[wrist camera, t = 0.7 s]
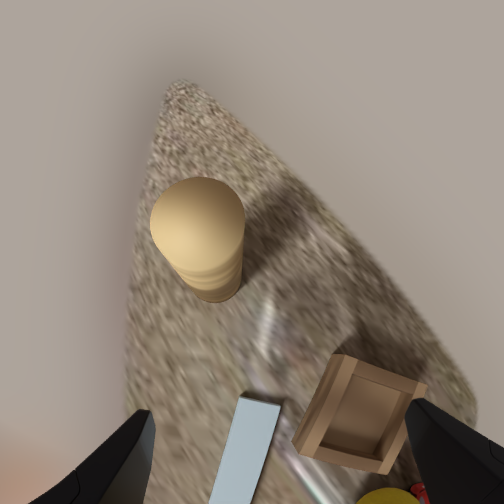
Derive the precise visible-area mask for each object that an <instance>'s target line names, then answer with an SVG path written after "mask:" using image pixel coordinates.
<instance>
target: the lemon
mask: <svg viewBox="0 0 504 504" xmlns="http://www.w3.org/2000/svg"><path fill="white" fill-rule="evenodd" d="M356 504H420V502H419V501H418V500H417V499H416V498H415V497H414V496H412V495H411V494H410V493H408V492H406V491H404V490H401V489H398V488H382V489H377V490H374V491H372V492H370V493H368V494H366V495H365V496H363V497H362V498H361V499H360V500H359V501H358V502H357V503H356Z"/></svg>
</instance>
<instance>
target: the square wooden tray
mask: <svg viewBox="0 0 504 504" xmlns="http://www.w3.org/2000/svg"><path fill="white" fill-rule="evenodd" d="M427 386H428V385H426V384H423V383H420V382H418V381H415V380H412V379H409V378H406V377H403V376H401V375H398V374H395V373H392V372H390V371H387V370H384V369H382V368H379V367H376V366H374V365H371V364H368V363H366V362H363V361H361V360H358V359H356V358H353V357H350V356H348V355H344V354H332V355H331V358H330V360H329V363H328V365H327V367H326V370H325V372H324V374H323V376H322V379H321V381H320V383H319V385H318V388H317V390H316V392H315V394H314V396H313V398H312V401H311V403H310V405H309V407H308V409H307V411H306V413H305V415H304V417H303V419H302V421H301V423H300V425H299V427H298V429H297V431H296V433H295V435H294V437H293V439H292V441H291V442H292V443H293V445H294V447H295V449H296V450H297V452H298V454H300V455H304V456H307V457H310V458H314V459H317V460H321V461H325V462H329V463H332V464H336V465H341V466H345V467H349V468H354V469H358V470H363V471H368V472H373V473H379V474H384V475H387V474H388V473H389V471H390V469H391V467H392V465H393V463H394V461H395V459H396V458H397V456H398V454H399V452H400V450H401V448H402V445H403V443H404V441H405V439H406V437H407V435H408V432H407V428H406V424H405V420H404V415H405V412H406V410H407V408H408V406H409V404H410V402H411V401H412V400H413V399H416V398H423V397H424V394H425V392H426V389H427Z"/></svg>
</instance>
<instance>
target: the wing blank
mask: <svg viewBox="0 0 504 504" xmlns="http://www.w3.org/2000/svg"><path fill="white" fill-rule="evenodd" d="M280 407H281V406H280V405H279V404H274V403H269V402H265V401H260V400H256V399H251V398H247V397H243V396H239V399H238V403H237V406H236V410H235V413H234V417H233V420H232V424H231V428H230V431H229V435H228V438H227V442H226V445H225V449H224V452H223V455H222V459H221V462H220V466H219V469H218V473H217V476H216V479H215V483H214V486H213V489H212V493H211V496H210V499H209V503H208V504H250V502H251V499H252V496H253V494H254V491H255V488H256V485H257V482H258V479H259V476H260V473H261V470H262V467H263V464H264V461H265V457H266V454H267V451H268V448H269V445H270V441H271V438H272V435H273V431H274V428H275V425H276V421H277V418H278V414H279V411H280Z"/></svg>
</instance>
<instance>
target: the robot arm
mask: <svg viewBox="0 0 504 504" xmlns="http://www.w3.org/2000/svg"><path fill="white" fill-rule="evenodd" d="M404 420H405V424H406V428H407V432H408V436H409V440H410V444H411V448H412V452H413V455H414V458H415V461H416V464H417V467H418V469H419V472H420V475H421V478H422V481H423V484H424V487H425V490H426V493H427V496H428V500H429V503H430V504H504V448H503V447H501V446H500V445H498V444H496V443H495V442H493V441H491V440H488V438H486V437H485V436H483V435H481V434H480V433H478V432H477V431H475V430H473V429H472V428H470V427H468V426H467V425H465V424H464V423H462V422H460V421H459V420H457V419H456V418H454V417H452V416H451V415H449V414H448V413H446V412H445V411H443V410H441V409H440V408H438V407H437V406H435V405H434V404H432V403H430V402H429V401H427V400H426V399H424V398H416V399H413V400H412V401H411V402H410V404H409V406H408V408H407V410H406V412H405V415H404ZM155 431H156V428H155V423H154V419H153V416H152V413H151V411H150V410H144V409H139V410H137V411H136V412H135V413H134V414H133V415H132V416H131V417H130V418H129V419H128V420H127V421H126V422H125V423H123V424H122V425H121V426H120V427H119V428H118V429H117V430H116V431H115V432H114V433H113V434H112V435H111V436H110V437H109V438H108V439H107V440H106V441H105V442H104V443H103V444H101V445H100V446H99V447H98V448H97V449H96V450H95V451H94V452H93V453H92V454H91V455H89V456H88V457H87V458H86V459H85V460H84V461H83V462H82V463H81V464H80V465H79V466H77V468H76V469H75V470H73V471H72V472H71V473H70V474H69V475H67V476H66V477H65V478H64V479H63V480H62V481H60V482H59V483H58V484H57V485H55V486H54V487H52V488H51V489H50V490H48V491H47V492H45V493H44V494H42V495H41V496H39V497H38V498H36V499H35V500H33V501H32V502H30V503H28V504H143V500H144V496H145V492H146V488H147V484H148V479H149V475H150V471H151V465H152V456H153V448H154V439H155Z"/></svg>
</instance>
